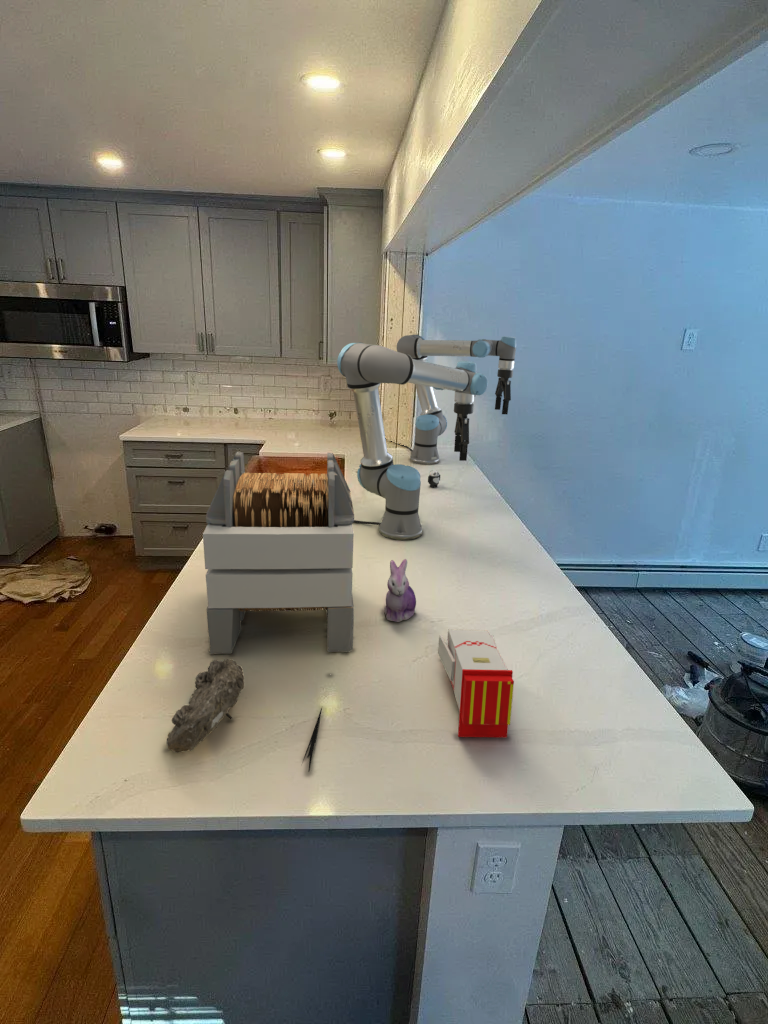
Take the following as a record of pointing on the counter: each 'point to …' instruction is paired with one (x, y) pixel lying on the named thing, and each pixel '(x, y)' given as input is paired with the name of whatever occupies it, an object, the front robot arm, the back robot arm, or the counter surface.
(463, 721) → the toy
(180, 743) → the fossil
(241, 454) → the grey box with legs
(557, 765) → the counter surface
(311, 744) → the feather
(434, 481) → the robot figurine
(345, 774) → the counter surface
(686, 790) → the counter surface
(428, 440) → the back robot arm
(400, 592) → the figurine
